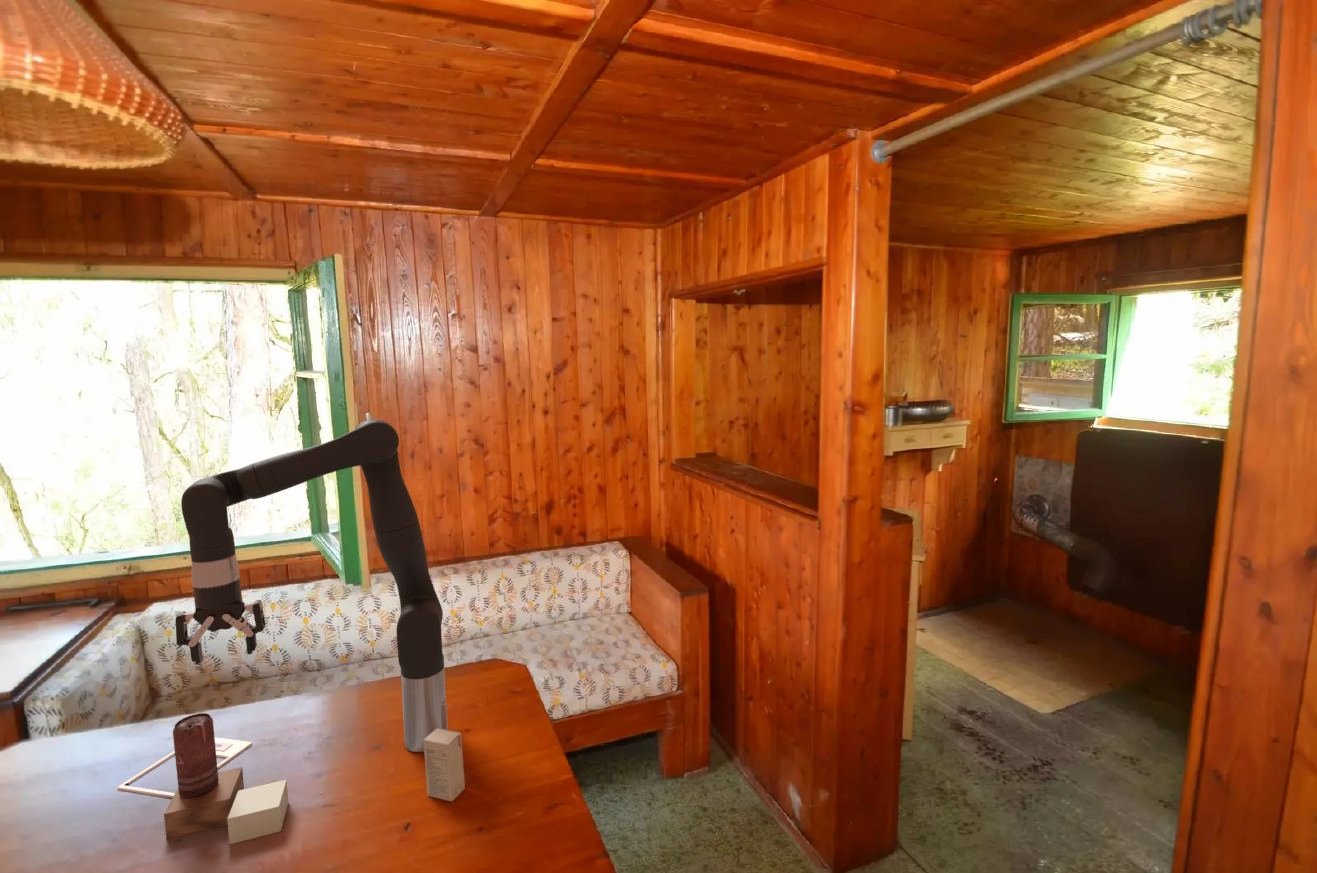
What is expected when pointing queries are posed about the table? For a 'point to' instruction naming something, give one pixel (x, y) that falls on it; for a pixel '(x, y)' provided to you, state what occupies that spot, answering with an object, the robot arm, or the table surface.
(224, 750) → the photo frame
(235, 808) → the cream block
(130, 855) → the table surface
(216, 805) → the walnut block
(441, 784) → the skincare box
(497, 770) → the table surface
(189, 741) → the can
